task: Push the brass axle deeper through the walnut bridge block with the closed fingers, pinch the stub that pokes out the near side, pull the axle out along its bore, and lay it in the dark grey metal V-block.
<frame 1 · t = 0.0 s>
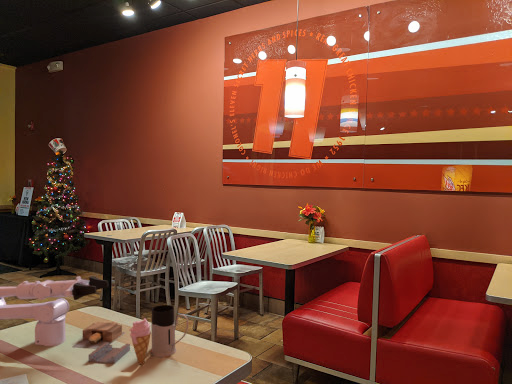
hand: (102, 286, 137), 22 cm above the table, tool horizontal, fingers open, 7 cm apart
bridge block: (99, 342, 143), on the table
ice cream cone: (140, 365, 125), on the table
axle: (103, 336, 145), point 1 cm above the table, touching bridge block
glass holder: (170, 353, 134), on the table
v block: (109, 358, 129), on the table
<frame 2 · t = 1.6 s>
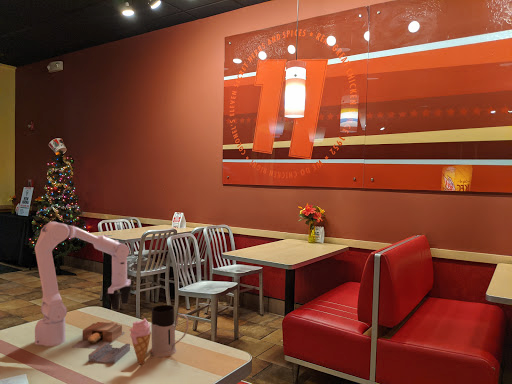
hand: (120, 306, 157), 8 cm above the table, tool pointing down, fingers open, 7 cm apart
axle: (103, 336, 145), point 1 cm above the table, tilted 13°, touching bridge block
everything else where it was.
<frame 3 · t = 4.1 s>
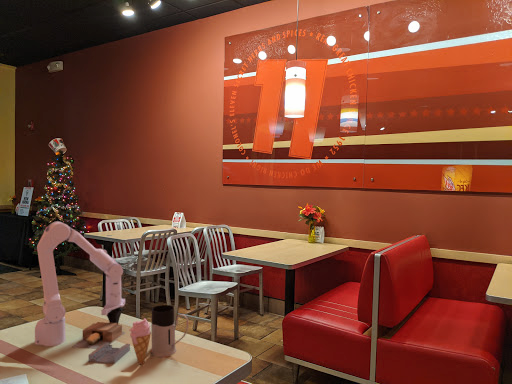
hand: (114, 327, 153), 2 cm above the table, tool pointing down, fingers closed
axle: (102, 337, 145), point 1 cm above the table, tilted 18°, touching bridge block, gripper
everything else where it was.
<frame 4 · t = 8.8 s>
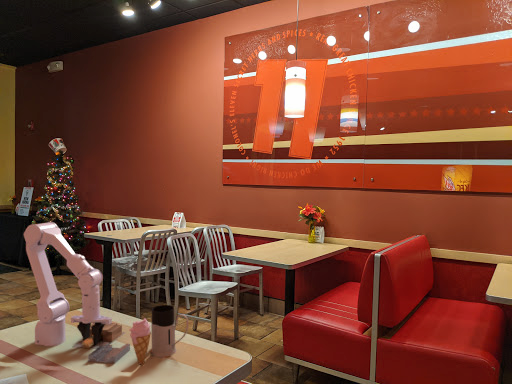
hand: (91, 343, 138), 2 cm above the table, tool pointing down, fingers closed on axle, 3 cm apart
axle: (97, 340, 142), point 1 cm above the table, touching bridge block, gripper
everything else where it was.
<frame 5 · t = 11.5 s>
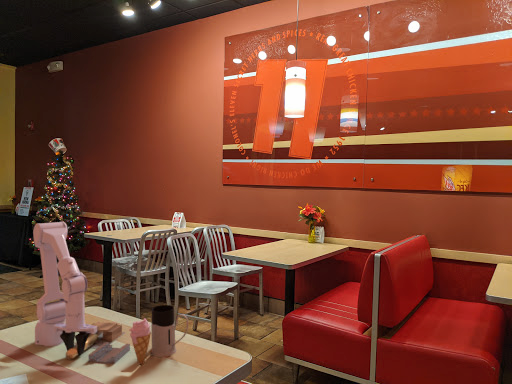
hand: (75, 353, 129), 2 cm above the table, tool pointing down, fingers closed on axle, 3 cm apart
axle: (83, 350, 133), point 1 cm above the table, touching gripper
everything else where it was.
when the fingers open (4 cm above the table, at t = 14.6 s): axle stays where it is, resting on v block.
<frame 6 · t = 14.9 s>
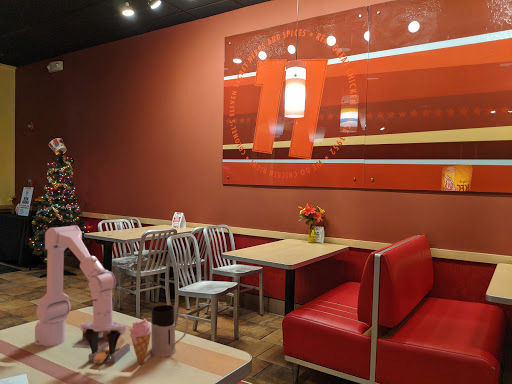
hand: (103, 352, 125), 4 cm above the table, tool pointing down, fingers open, 5 cm apart
axle: (109, 354, 129), point 1 cm above the table, touching v block
everything else where it was.
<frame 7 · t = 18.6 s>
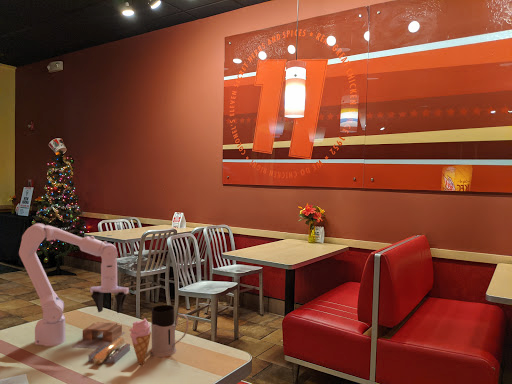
hand: (109, 311, 148), 9 cm above the table, tool pointing down, fingers open, 7 cm apart
nothing on the table moved.
at the end: axle 0.1 cm off-centre on the v block, point 1.5 cm above the v block's base; the gripper is holding nothing; axle touching v block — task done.
